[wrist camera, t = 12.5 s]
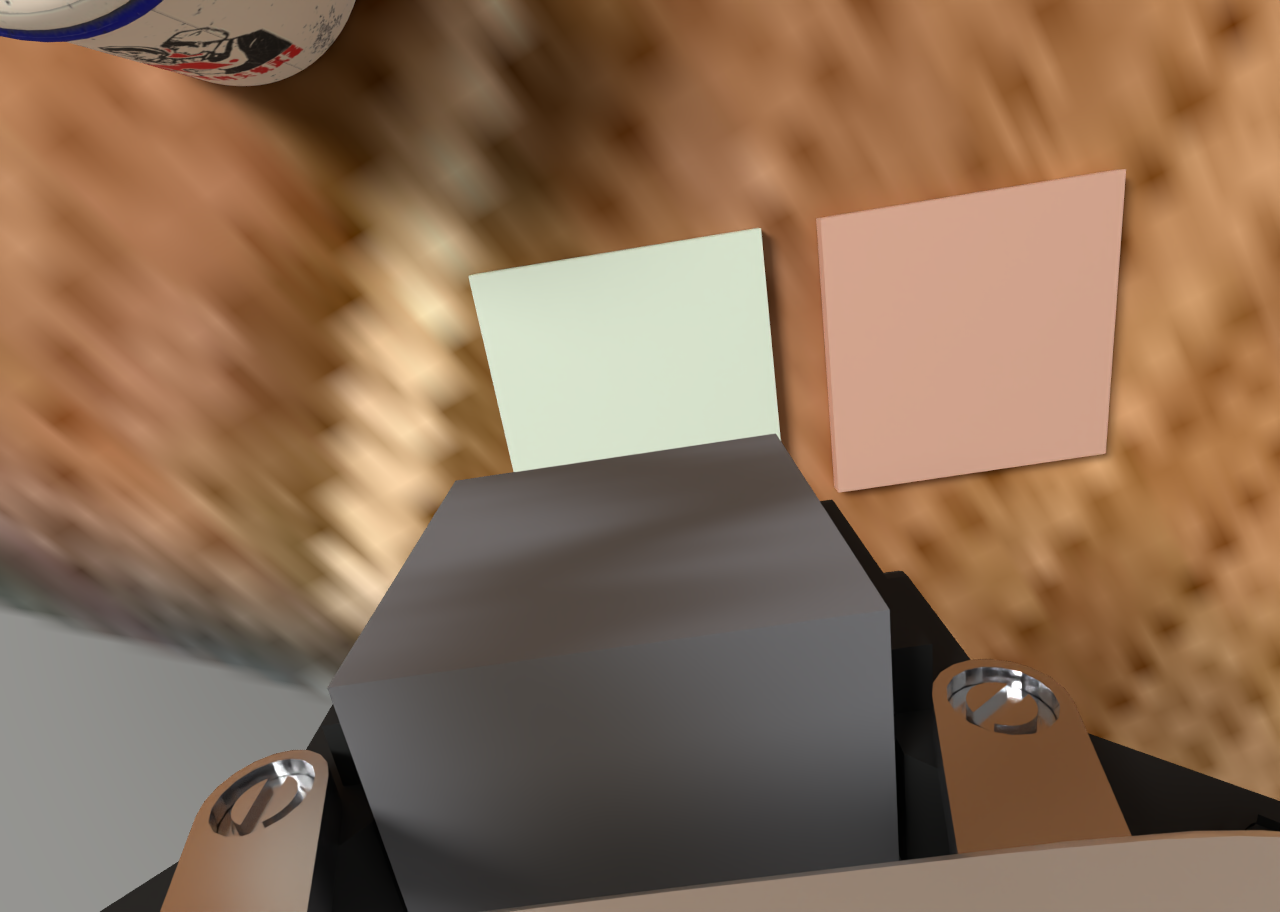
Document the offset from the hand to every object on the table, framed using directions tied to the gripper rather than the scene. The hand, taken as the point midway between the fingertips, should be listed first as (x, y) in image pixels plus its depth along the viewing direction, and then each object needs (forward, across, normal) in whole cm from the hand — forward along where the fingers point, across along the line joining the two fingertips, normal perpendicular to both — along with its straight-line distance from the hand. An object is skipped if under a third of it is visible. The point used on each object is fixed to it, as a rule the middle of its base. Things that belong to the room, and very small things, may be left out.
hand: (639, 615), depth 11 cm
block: (+1, 0, 0) cm, 1 cm away
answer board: (+16, -6, 0) cm, 17 cm away
